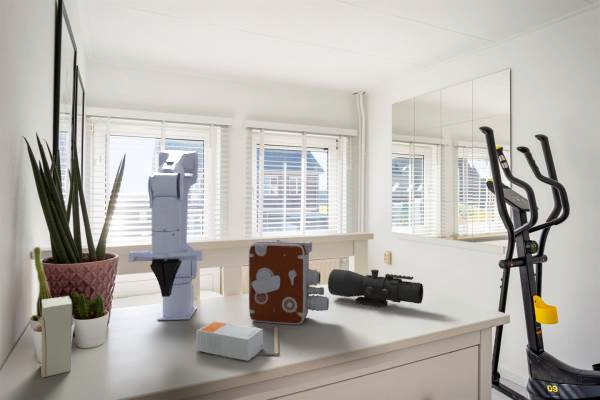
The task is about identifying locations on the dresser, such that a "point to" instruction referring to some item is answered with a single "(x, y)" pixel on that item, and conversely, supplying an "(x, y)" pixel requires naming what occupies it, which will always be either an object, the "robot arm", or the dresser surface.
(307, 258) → the cine camera
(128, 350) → the dresser surface
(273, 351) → the rubber mat
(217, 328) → the skincare box
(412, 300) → the rifle scope
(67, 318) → the skincare box
